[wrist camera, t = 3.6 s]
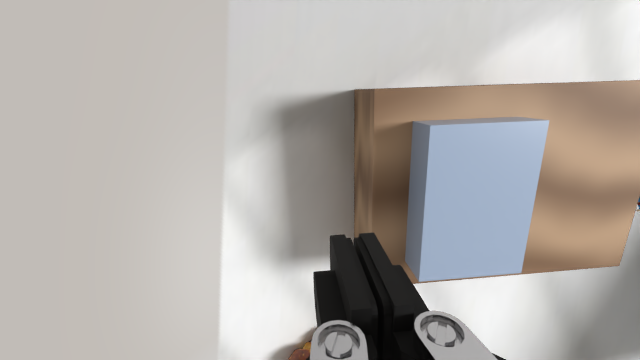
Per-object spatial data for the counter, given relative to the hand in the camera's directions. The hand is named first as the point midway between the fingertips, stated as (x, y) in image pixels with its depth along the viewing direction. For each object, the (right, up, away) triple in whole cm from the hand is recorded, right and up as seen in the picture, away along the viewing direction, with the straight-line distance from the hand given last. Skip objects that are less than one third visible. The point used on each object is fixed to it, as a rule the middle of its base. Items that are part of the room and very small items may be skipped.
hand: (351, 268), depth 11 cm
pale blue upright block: (+8, +3, +9) cm, 13 cm away
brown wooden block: (+12, +4, +15) cm, 20 cm away
